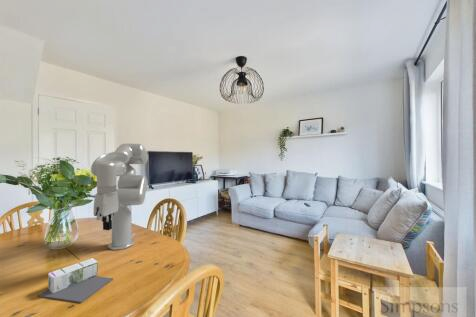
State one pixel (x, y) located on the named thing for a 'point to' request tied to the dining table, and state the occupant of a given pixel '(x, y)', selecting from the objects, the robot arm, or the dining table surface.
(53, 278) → the syrup box
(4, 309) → the dining table surface
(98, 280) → the mat
